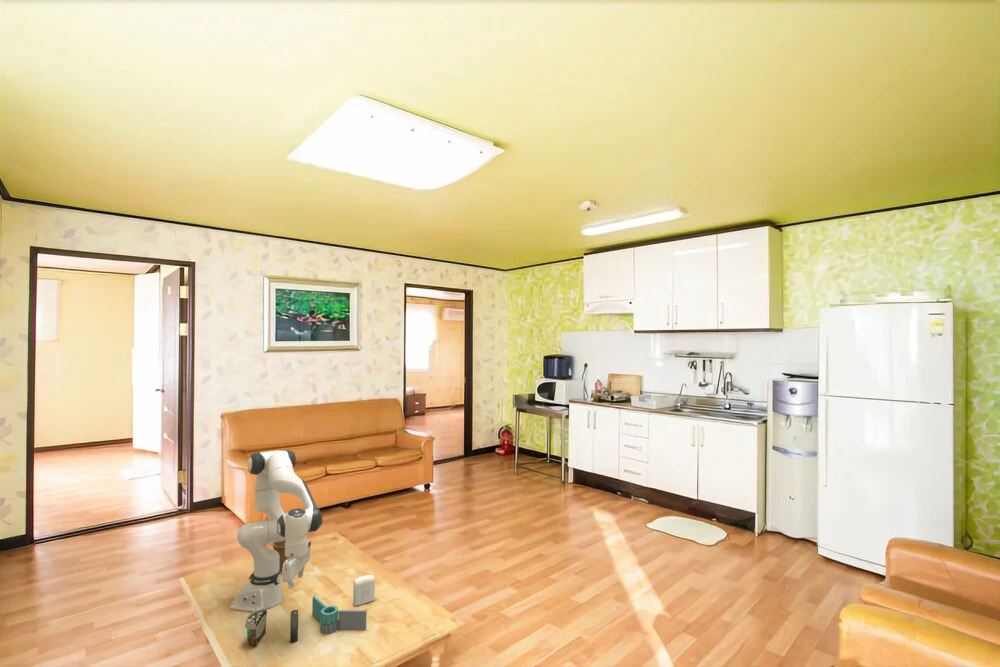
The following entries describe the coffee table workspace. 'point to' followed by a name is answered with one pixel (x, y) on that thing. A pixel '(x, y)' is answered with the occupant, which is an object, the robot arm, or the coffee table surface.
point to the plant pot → (280, 552)
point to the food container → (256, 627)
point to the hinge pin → (294, 626)
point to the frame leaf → (346, 621)
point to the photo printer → (363, 590)
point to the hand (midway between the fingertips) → (295, 582)
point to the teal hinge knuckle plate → (324, 611)
